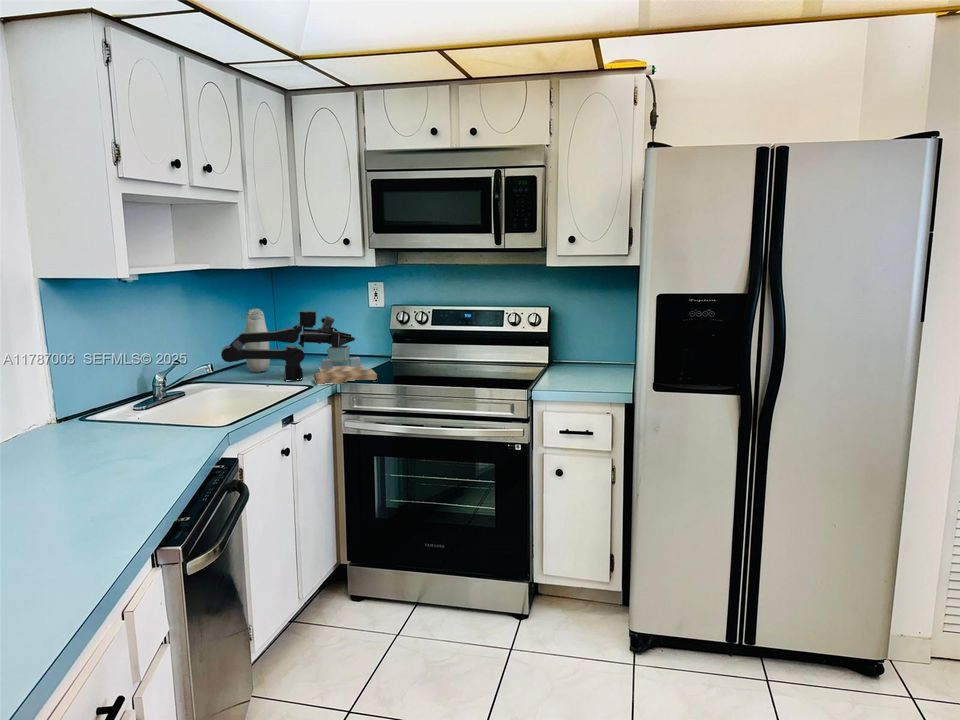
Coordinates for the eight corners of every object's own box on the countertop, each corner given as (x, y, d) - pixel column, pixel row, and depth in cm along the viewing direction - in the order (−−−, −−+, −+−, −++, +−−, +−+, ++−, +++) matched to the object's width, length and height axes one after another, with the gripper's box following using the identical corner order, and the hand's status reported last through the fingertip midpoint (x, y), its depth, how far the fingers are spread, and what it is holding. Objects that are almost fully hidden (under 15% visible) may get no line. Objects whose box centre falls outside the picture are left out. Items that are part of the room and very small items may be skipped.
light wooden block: (320, 379, 290) (320, 369, 289) (319, 376, 295) (318, 367, 294) (363, 375, 295) (363, 366, 295) (361, 373, 300) (361, 364, 300)
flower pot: (327, 368, 312) (326, 348, 310) (332, 364, 321) (331, 345, 319) (346, 368, 312) (345, 348, 310) (350, 364, 320) (350, 345, 319)
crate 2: (350, 367, 294) (350, 359, 293) (349, 365, 297) (349, 357, 297) (360, 366, 295) (359, 358, 294) (358, 365, 299) (358, 357, 298)
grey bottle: (243, 371, 306) (239, 308, 301) (266, 368, 312) (262, 306, 307) (251, 375, 298) (246, 310, 293) (274, 372, 304) (270, 308, 299)
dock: (317, 385, 275) (316, 378, 274) (314, 380, 285) (313, 373, 285) (377, 381, 282) (376, 373, 282) (372, 376, 293) (372, 369, 292)
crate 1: (323, 369, 290) (322, 361, 289) (321, 367, 294) (321, 359, 293) (332, 368, 291) (332, 360, 291) (331, 366, 295) (331, 358, 294)
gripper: (318, 319, 277) (357, 321, 282) (313, 314, 294) (350, 315, 299) (317, 346, 278) (356, 348, 284) (312, 340, 296) (349, 341, 301)
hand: (353, 337), depth 292 cm, fingers open, 9 cm apart
